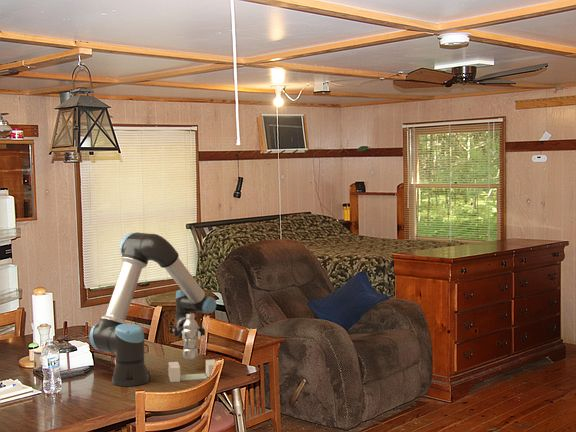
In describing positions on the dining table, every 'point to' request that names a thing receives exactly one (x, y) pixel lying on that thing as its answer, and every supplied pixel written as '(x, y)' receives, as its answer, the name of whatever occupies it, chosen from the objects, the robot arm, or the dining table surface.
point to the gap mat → (193, 377)
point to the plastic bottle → (190, 337)
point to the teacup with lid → (37, 357)
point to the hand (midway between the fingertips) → (191, 336)
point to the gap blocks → (175, 370)
